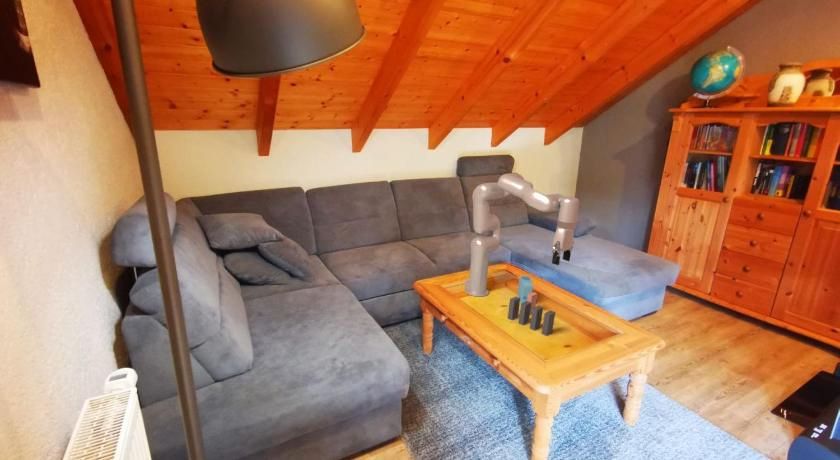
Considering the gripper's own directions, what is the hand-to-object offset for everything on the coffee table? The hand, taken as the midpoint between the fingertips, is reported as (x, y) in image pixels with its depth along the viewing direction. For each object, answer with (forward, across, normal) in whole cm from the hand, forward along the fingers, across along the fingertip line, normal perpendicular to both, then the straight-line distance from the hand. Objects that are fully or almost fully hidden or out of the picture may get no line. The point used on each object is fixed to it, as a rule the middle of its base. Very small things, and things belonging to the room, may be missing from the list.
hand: (560, 262), depth 180 cm
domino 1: (+30, +10, -15) cm, 35 cm away
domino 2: (+30, +10, -9) cm, 33 cm away
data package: (+30, -12, -23) cm, 40 cm away
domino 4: (+30, +10, -3) cm, 32 cm away
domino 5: (+30, +10, +3) cm, 32 cm away
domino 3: (+30, -2, -13) cm, 33 cm away
